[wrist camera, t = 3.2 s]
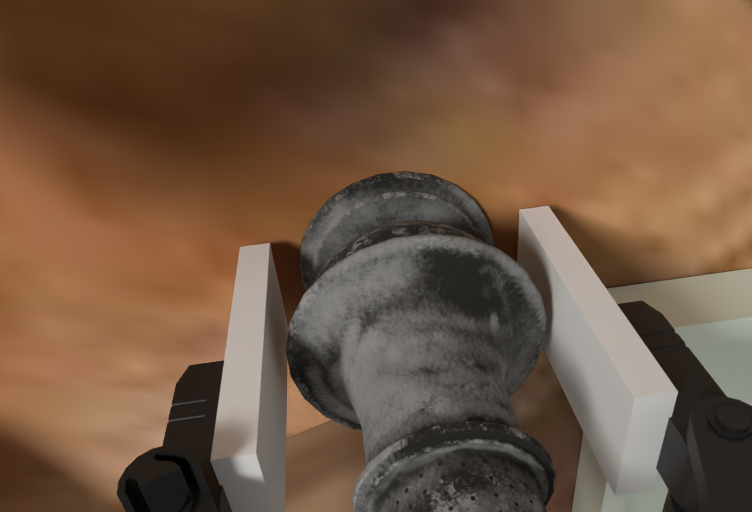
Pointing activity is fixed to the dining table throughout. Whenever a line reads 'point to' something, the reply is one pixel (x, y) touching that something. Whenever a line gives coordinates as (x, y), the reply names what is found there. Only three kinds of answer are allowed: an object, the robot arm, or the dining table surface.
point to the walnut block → (323, 468)
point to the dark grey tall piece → (421, 347)
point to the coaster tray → (707, 342)
